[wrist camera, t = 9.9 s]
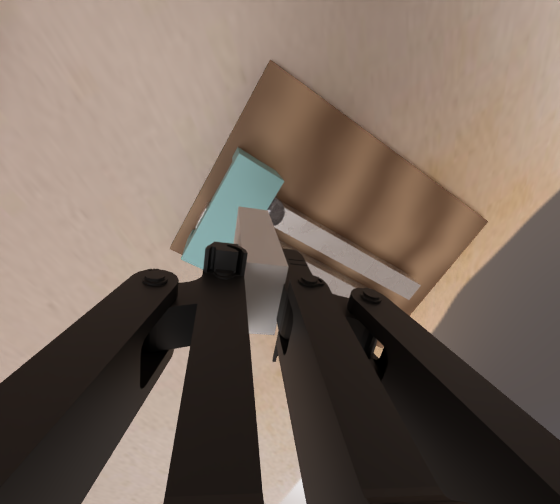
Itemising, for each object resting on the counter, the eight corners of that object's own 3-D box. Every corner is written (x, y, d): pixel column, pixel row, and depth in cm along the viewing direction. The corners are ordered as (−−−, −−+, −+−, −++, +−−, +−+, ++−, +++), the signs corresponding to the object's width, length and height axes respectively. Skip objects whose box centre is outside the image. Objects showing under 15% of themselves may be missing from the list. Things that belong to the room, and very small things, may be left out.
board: (171, 244, 32) (169, 248, 31) (269, 62, 27) (270, 59, 26) (378, 342, 41) (382, 348, 40) (480, 218, 36) (488, 221, 35)
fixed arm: (197, 219, 31) (195, 227, 28) (207, 201, 30) (205, 208, 28) (377, 311, 38) (387, 324, 36) (388, 298, 37) (398, 310, 35)
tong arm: (248, 209, 31) (250, 218, 28) (262, 186, 30) (265, 192, 28) (395, 289, 37) (407, 302, 35) (409, 271, 36) (422, 283, 34)
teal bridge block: (188, 237, 31) (180, 259, 26) (237, 147, 28) (239, 153, 24) (225, 256, 32) (224, 279, 28) (276, 170, 30) (284, 181, 25)
